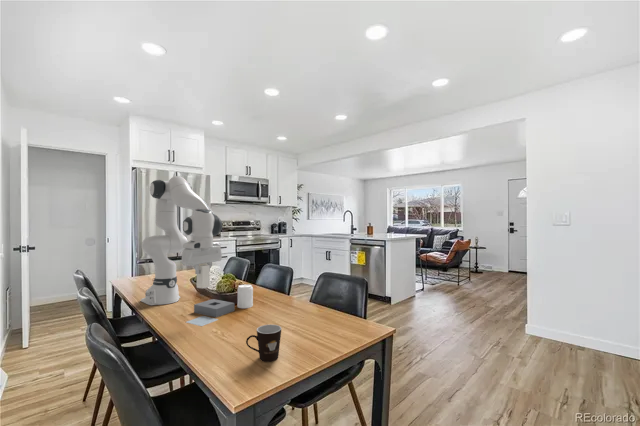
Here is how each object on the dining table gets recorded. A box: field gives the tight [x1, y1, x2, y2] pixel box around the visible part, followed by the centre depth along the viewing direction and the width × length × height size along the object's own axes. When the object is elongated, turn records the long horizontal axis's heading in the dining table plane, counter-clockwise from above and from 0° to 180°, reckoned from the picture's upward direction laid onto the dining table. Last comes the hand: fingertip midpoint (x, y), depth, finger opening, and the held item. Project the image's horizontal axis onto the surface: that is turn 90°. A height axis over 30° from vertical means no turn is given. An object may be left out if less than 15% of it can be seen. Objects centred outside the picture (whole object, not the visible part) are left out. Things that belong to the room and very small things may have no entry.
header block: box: [193, 298, 235, 318], centre depth 153 cm, size 16×12×5 cm
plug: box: [196, 264, 211, 289], centre depth 140 cm, size 4×4×10 cm
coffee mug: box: [245, 324, 282, 363], centre depth 104 cm, size 12×9×10 cm
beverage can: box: [237, 284, 254, 309], centre depth 163 cm, size 8×8×12 cm
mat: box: [185, 315, 219, 327], centre depth 139 cm, size 11×10×1 cm
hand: (202, 273), depth 140 cm, fingers closed on plug, 4 cm apart
